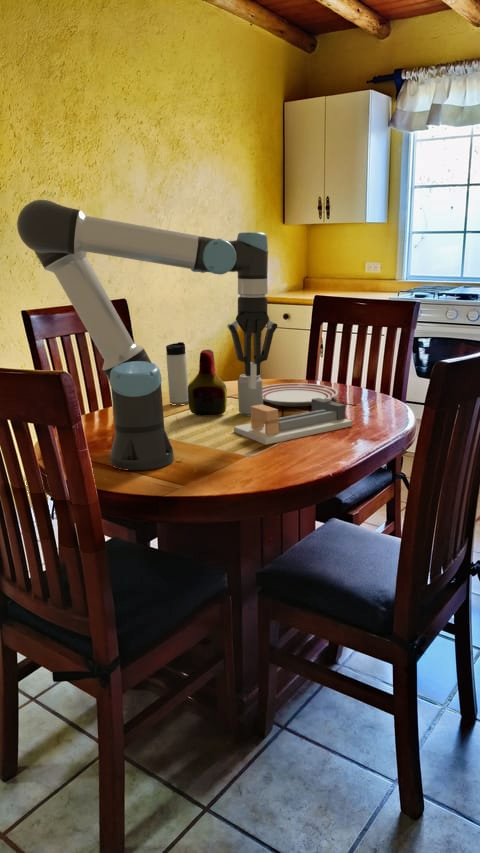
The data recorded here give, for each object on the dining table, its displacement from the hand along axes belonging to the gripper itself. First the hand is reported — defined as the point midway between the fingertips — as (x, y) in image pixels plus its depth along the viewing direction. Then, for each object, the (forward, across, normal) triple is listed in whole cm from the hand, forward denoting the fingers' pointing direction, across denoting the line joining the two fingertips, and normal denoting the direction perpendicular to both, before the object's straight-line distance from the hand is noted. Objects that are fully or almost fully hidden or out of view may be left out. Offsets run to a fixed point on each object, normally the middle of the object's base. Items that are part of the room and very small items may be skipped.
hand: (252, 387), depth 174 cm
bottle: (+14, +6, -30) cm, 33 cm away
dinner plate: (+13, -25, -38) cm, 47 cm away
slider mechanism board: (+13, -13, -4) cm, 19 cm away
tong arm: (+11, -14, -3) cm, 18 cm away
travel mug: (+14, +12, -49) cm, 52 cm away
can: (+14, -7, -26) cm, 30 cm away
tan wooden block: (+12, -3, +1) cm, 12 cm away
